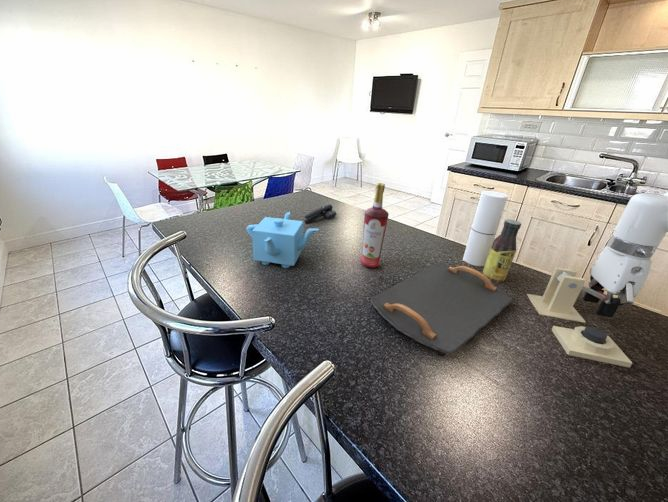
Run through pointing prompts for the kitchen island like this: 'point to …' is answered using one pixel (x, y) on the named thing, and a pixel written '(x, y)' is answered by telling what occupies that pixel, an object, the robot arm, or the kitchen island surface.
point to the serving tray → (442, 306)
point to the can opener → (320, 213)
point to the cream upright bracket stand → (560, 296)
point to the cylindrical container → (484, 227)
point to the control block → (590, 347)
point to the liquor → (374, 230)
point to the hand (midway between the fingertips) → (596, 307)
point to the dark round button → (594, 335)
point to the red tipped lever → (586, 288)
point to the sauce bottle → (502, 252)
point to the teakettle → (278, 240)
